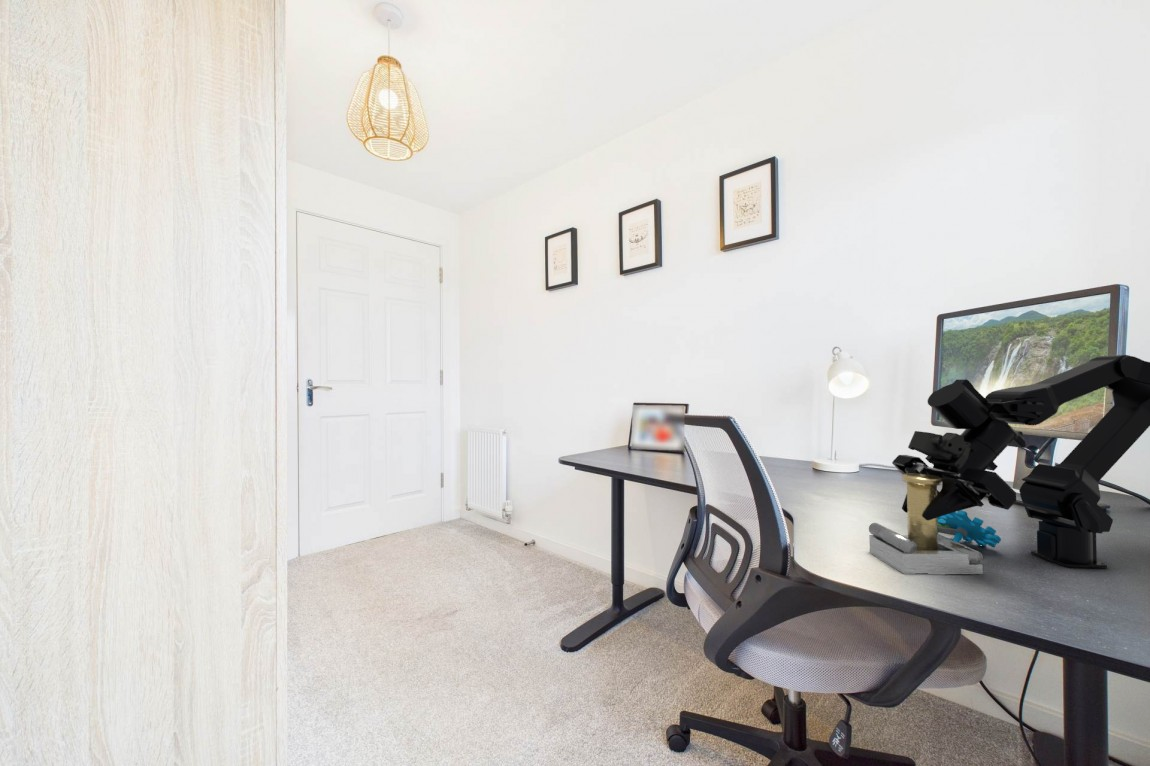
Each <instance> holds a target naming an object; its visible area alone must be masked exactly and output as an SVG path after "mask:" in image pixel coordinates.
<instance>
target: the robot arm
mask: <svg viewBox="0 0 1150 766" xmlns="http://www.w3.org/2000/svg"><path fill="white" fill-rule="evenodd" d="M1102 388H1103V389H1104V388H1105V389H1107V390H1110V391H1111V395H1112V400H1113V405H1112V407H1111V408H1110V409H1109V410H1108V411H1107V413H1106V414H1105V415H1104V416H1103V417H1102V418H1101V419H1100V420H1099V421H1098V422H1097V423H1096V424H1095V426H1094V427H1092V429H1091V430H1090V431H1089V432H1088V433H1087V434H1086V435H1085V436H1084V437H1083V439H1081V440H1080V442H1079V443H1078V444H1077V445H1076V446H1075V447H1074V448H1073V449H1072V450H1071V452H1070V453H1069V454H1068V455H1067V456H1066V457H1065V458H1064V459H1063V460H1062V462H1060V463H1058V464H1056V465H1049V464H1043V463H1038V464H1037V465H1035V466H1034V467H1033V469H1031V472H1030V473H1029V474H1028V475H1027V476H1026V477H1023V478H1022V479H1021V481H1022V482H1023V483H1022V485H1020V487H1019V496H1020V499H1021V502H1022V504H1023V507H1024V509H1025V511H1026V515H1027V517H1028V518H1031V519H1036V520H1038V529H1037V531H1036V549H1030V554H1032V555H1035V556H1038V557H1040V558H1043V559H1046V560H1048V561H1050V562H1053V563H1055V564H1058V565H1060V566H1063V567H1067V568H1095V569H1096V568H1098V569H1099V568H1107V569H1108V568H1109V565H1108V564H1107V563H1104V562H1101V561H1098V558H1097V557H1098V555H1097V552H1098V551H1097V548H1098V547H1097V534H1103V533H1109V532H1110V530H1111V527H1112V524H1113V520H1114V519H1113V518H1112V517H1111V516H1110V515H1109V514H1108V513H1107V512H1106V511H1105V510H1104V509H1103V508H1102V507H1101V506H1099V505H1098V504H1099V502H1100V500H1101V491H1100V484H1099V483H1100V481H1101V480H1102V479H1103V477H1105V475H1106V474H1107V473H1108V472H1109V471H1110V470H1111V469H1112V467H1114V466H1115V465H1116V463H1117V462H1118V461H1119V460H1120V459H1121V458H1122V457H1123V456H1124V455H1125V454H1126V452H1128V450H1129V449H1130V448H1131V447H1132V446H1133V445H1134V444H1135V442H1136V441H1138V440H1139V438H1140V437H1141V436H1142V435H1143V434H1144V433H1145V432H1146V431H1147V429H1149V428H1150V361H1145V360H1143V359H1141V358H1139V357H1137V356H1132V355H1128V354H1117V355H1114V354H1113V355H1100V356H1096V357H1094V358H1091V359H1090V360H1088V361H1087V362H1086V363H1082V364H1080V365H1078V366H1074V367H1072V368H1070V369H1068V370H1064V371H1063V372H1060V373H1057V374H1055V375H1052V376H1050V377H1049V378H1046V379H1043V380H1040V381H1038V382H1036V383H1032V384H1029V385H1026V384H1025V385H1020V386H1012V387H1007V388H1002V389H997V390H994V391H991V392H990V393H988V394H986V396H985V397H984V395H982V394H981V393H980V392H979V391H978V390H977V389H976V388H975V387H974V385H973V384H972V383H971V382H970V381H969V380H968V379H967V378H963V379H955V380H954V381H953V382H952V383H951V384H948V385H944V386H942V387H940V388H939V389H938V390H936V391H935V390H934V391H933V392H932V393H931V394H930V395H929V396H928V398H927V405H928V406H930V407H931V408H932V409H933V410H934V411H935V412H936V413H937V414H938V415H939V416H940V417H941V418H942V419H943V420H944V421H945V422H946V424H948V425H949V426H950V427H951V428H952V429H956V430H957V429H958V430H960V429H961V430H963V429H964V431H962V432H961V434H958V433H956V432H955V433H954V432H945V433H944V434H936V433H933V432H927V431H921V430H920V431H917V430H915V431H914V433H913V435H912V436H911V440H910V442H909V444H908V446H907V448H908V449H909V450H912V451H917V452H919V453H921V454H923V455H924V456H925V455H926V457H925V458H924V459H925V460H926V461H927V462H928V463H929V464H932V465H933V466H929V465H928V464H927V463H926V462H924V460H923V459H922V458H921V457H918V456H914V455H910V454H898V455H897V456H896V457H895V458H894V459H893V461H892V462H891V463H892V465H893V466H894V467H895V468H896V469H897V470H898V471H899V472H900V473H901V474H906V473H917V474H927V475H934V476H938V477H941V490H940V491H939V490H938V489H937V496H936V497H935V498H934V499H933V501H932V502H931V503H930V504H929V506H928V507H927V508H926V510H925V511H924V513H923V514H922V517H923V518H924V519H925V520H931V519H934V518H937V517H940V516H944V515H947V514H950V513H953V512H956V513H957V512H958V511H960V510H962V511H964V510H967V509H970V508H974V507H980V508H982V507H983V506H984V503H983V501H982V500H983V499H984V498H985V497H986V496H988V497H987V501H988V503H989V504H990V506H993V507H995V508H1000V509H1004V510H1006V511H1007V510H1008V511H1009V509H1011V508H1012V507H1013V505H1014V504H1015V503H1016V502H1017V492H1016V491H1015V490H1014V489H1013V488H1012V487H1011V486H1010V485H1009V484H1008V483H1007V482H1006V481H1005V480H1004V479H1003V478H1002V477H1001V476H1000V475H999V474H998V473H997V472H995V470H996V469H998V465H997V464H996V463H995V462H994V461H995V460H996V459H997V458H998V457H999V456H1000V454H1002V453H1003V452H1004V450H1005V449H1007V447H1012V448H1013V447H1014V448H1021V449H1025V448H1027V447H1026V446H1027V443H1026V440H1025V439H1024V436H1023V435H1024V433H1023V431H1020V430H1015V429H1014V428H1013V427H1012V426H1011V424H1012V425H1022V426H1023V425H1024V426H1037V425H1040V424H1042V423H1043V422H1045V421H1047V420H1048V419H1050V418H1051V417H1053V416H1054V415H1056V414H1057V413H1058V411H1059V408H1060V406H1062V405H1064V404H1066V403H1069V402H1071V401H1072V400H1075V399H1078V398H1081V397H1083V396H1085V395H1088V394H1089V393H1092V392H1095V391H1097V390H1100V389H1102ZM1009 424H1010V425H1009ZM901 509H902V511H903V512H904V513H906V514H907V493H906V495H905V497H904V501H903V503H902V506H901Z"/></svg>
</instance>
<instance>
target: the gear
mask: <svg viewBox="0 0 1150 766" xmlns="http://www.w3.org/2000/svg"><path fill="white" fill-rule="evenodd" d="M937 523H938V534H944V535H951V536H953V537H952V539H951V540H953V541H956V542H958V543H960V542H961V541H962V540H963V541H964V540H965V542H967V541H968V543H972V542H973V541H974V542H975V543H976V544H977V545H978V546H979V545H982V546H985V547H986V546H989V547H991V548H996V545H997V544H1000V542H1001V541H1002V538H1001V537H1000V536H999V535H997V534H996V532H997V530H996V529H995V528H993V527H991V526H986V528H984V527H982V525H983V524H984V520H983V519H980V518H978V517H977V516H976V517H975V516H974V518H973V519H971V518H970V517H969V516H968V513H967V512H966V511H964V510H960V511H956V512H953V513H950V514H947V515H944V516H940V517H937ZM982 546H981V547H982Z"/></svg>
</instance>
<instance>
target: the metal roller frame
mask: <svg viewBox="0 0 1150 766" xmlns="http://www.w3.org/2000/svg"><path fill="white" fill-rule="evenodd" d="M868 531H869V533H870V534H869V554H871V555H872V556H874V557H876V558H877V559H879V560H880V561H882V562H884V564H887V565H888V566H890V567H891V568H893V569H895V570H897V571H898V572H900V573H901V574H903V575H916V574H915V573H928V574H927V575H945V574H984V571H983V570H984V569H983V568H984V567H983V564H982V563H983V560H984V556H983V554H982V552H980V551H978V550H975V549H973V548H972V547H969V546H967V545H965V544H963V543H960V542H959V543H958V542H956V541H953V540H952V539H951V538H948V537H945V536H944V535H941V534H940V533H938V551H916V550H917V545H916V543H915V542H914V541H912V540H910V539H908V534H907V535H904V534H903V535H901V534H900V533H898V532H896V531H894V530H891V529H890V528H887V527H885V526H884V525H881V524H879V523H878V522H873V523H870V524H869V526H868Z"/></svg>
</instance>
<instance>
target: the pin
mask: <svg viewBox="0 0 1150 766" xmlns="http://www.w3.org/2000/svg"><path fill="white" fill-rule="evenodd" d="M901 474H902V473H901ZM902 482H905V483H906V494H907V513H906V515H907V517H906V518H907V535H908V539H910V540H912V541H914V542H915V543H916V545H917V550H916V551H938V534H939V533H938V523H937V518H934V519H931V520H925V519H924V518H923V517H922V514H923V513H924V511H925V510H926V508H927V507H928V506H929V504H930V503H931V502H932V501H933V499H934V498H935V497H936V496H937V490H938V486H942V482H941V477H938V476H934V475H927V474H917V473H906V474H902Z"/></svg>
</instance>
